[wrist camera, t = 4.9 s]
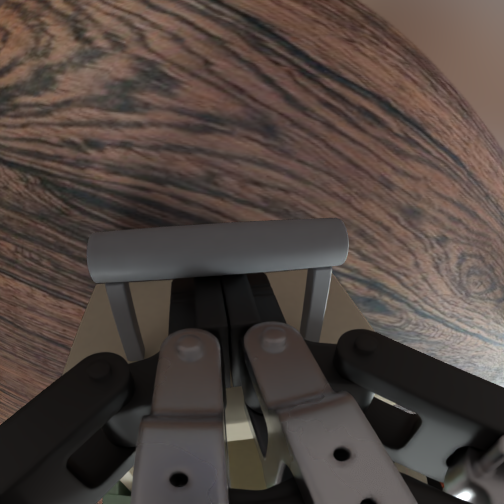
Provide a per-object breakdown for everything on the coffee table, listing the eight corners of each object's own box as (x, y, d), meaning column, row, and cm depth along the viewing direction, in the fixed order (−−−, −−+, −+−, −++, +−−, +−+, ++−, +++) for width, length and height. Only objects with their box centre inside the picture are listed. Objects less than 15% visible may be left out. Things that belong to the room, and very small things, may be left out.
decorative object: (413, 435, 38) (359, 466, 39) (414, 434, 31) (347, 472, 32) (445, 493, 29) (389, 524, 30) (452, 505, 22) (382, 542, 23)
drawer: (76, 192, 11) (-25, 299, 5) (339, 178, 13) (462, 262, 6) (147, 425, 19) (148, 520, 12) (300, 410, 21) (331, 498, 14)
